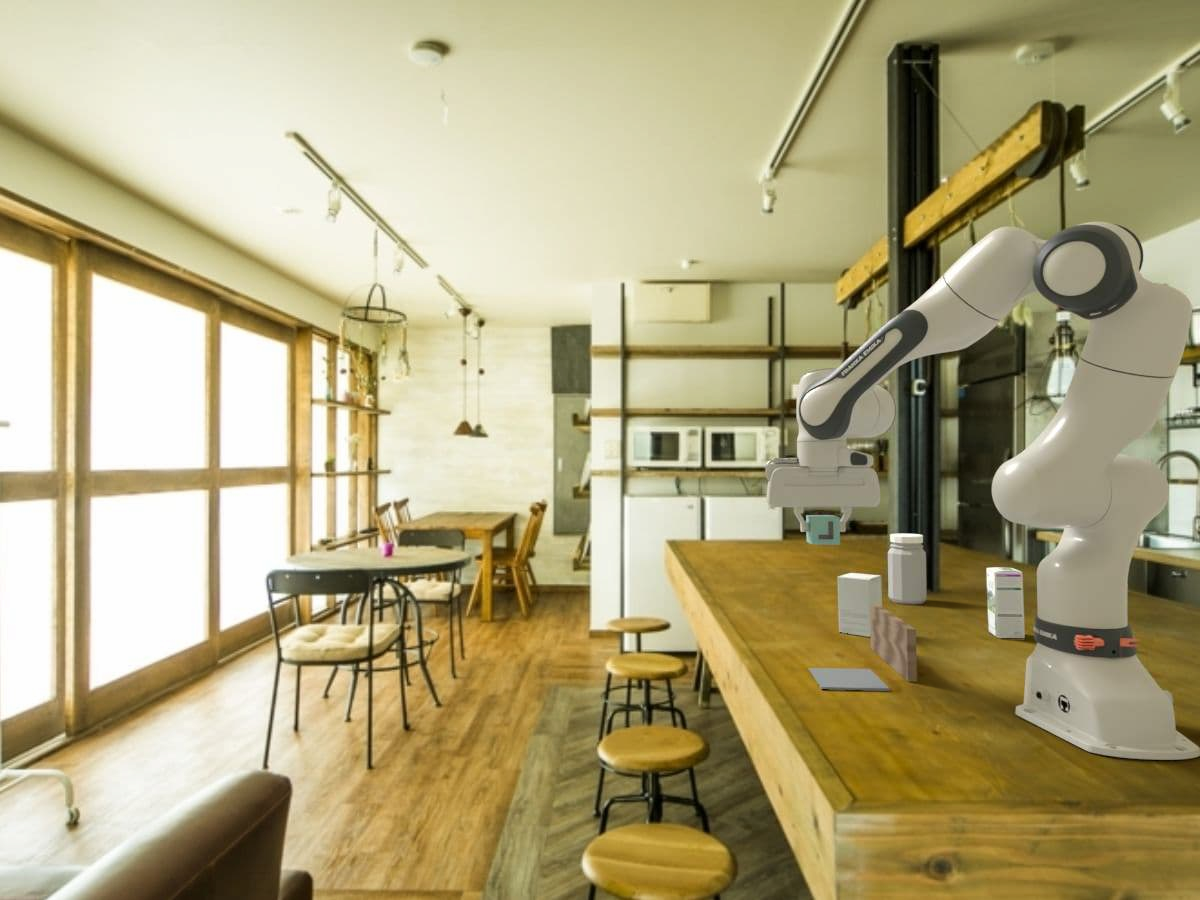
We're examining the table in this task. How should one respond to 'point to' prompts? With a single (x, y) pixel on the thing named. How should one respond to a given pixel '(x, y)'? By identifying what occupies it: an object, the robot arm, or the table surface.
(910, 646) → the walnut screen
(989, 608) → the syrup box
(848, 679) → the slate pad
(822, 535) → the letter block
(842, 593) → the supplement box
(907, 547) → the jar
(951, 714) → the table surface
